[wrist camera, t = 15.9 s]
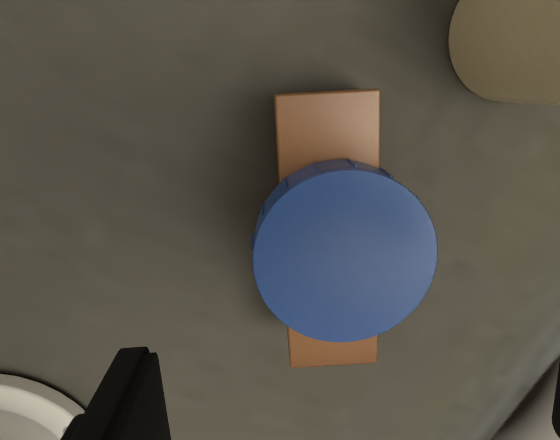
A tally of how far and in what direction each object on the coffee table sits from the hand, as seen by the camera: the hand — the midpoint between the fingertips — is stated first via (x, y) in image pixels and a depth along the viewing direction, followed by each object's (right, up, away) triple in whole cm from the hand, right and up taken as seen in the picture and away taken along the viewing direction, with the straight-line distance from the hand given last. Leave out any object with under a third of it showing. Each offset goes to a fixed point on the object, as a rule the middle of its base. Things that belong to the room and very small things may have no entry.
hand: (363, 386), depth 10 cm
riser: (0, +4, +12) cm, 13 cm away
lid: (0, +2, +6) cm, 7 cm away
